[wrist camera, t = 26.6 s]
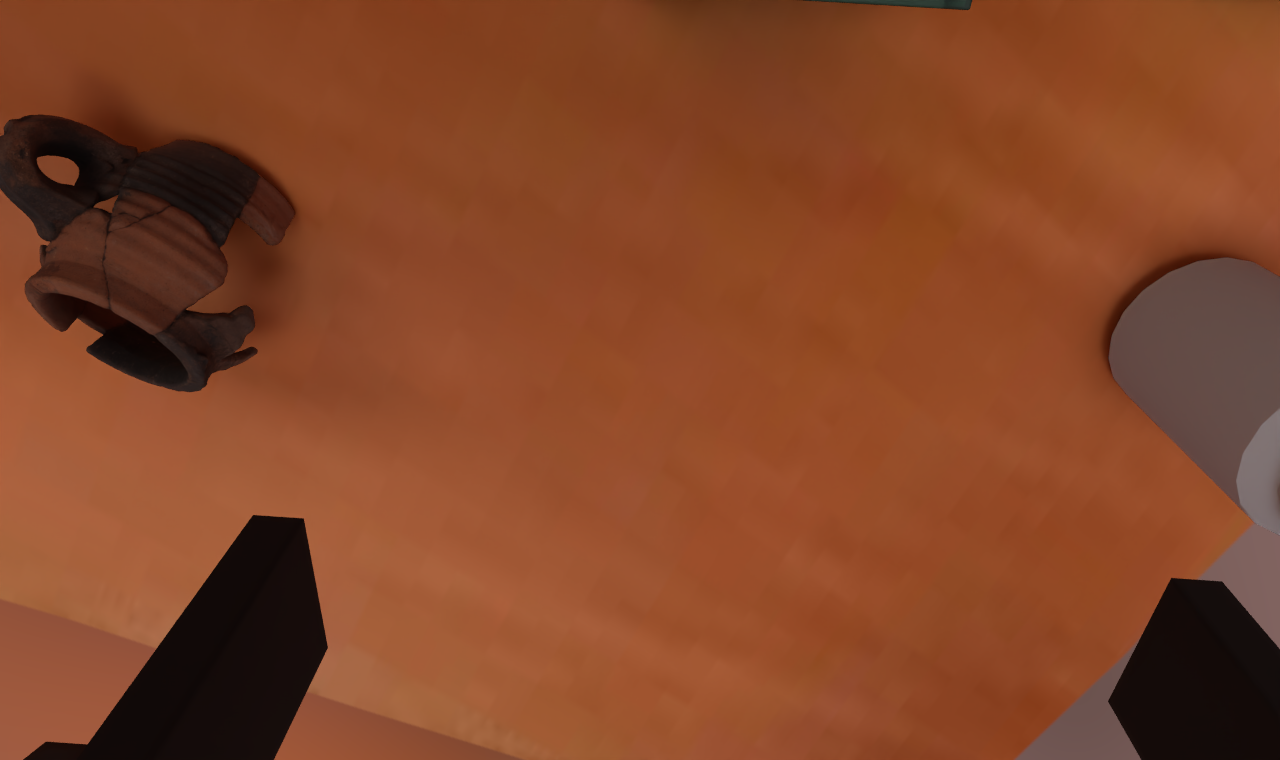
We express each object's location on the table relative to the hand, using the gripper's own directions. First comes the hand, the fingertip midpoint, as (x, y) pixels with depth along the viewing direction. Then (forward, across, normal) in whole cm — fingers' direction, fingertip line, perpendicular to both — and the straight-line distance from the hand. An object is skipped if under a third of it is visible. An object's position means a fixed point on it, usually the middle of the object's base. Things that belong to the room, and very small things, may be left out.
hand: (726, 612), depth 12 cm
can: (+25, +23, -5) cm, 34 cm away
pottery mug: (+25, -22, -3) cm, 34 cm away
